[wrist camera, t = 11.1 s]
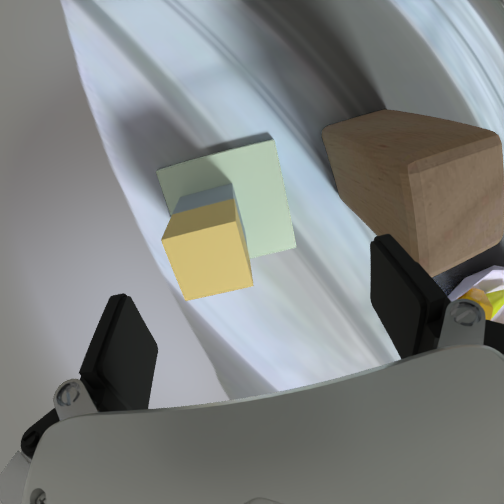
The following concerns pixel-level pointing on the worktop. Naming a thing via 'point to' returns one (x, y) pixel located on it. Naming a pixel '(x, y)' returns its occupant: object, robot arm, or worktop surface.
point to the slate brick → (208, 200)
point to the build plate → (240, 191)
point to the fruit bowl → (484, 292)
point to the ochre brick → (208, 250)
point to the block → (421, 183)
